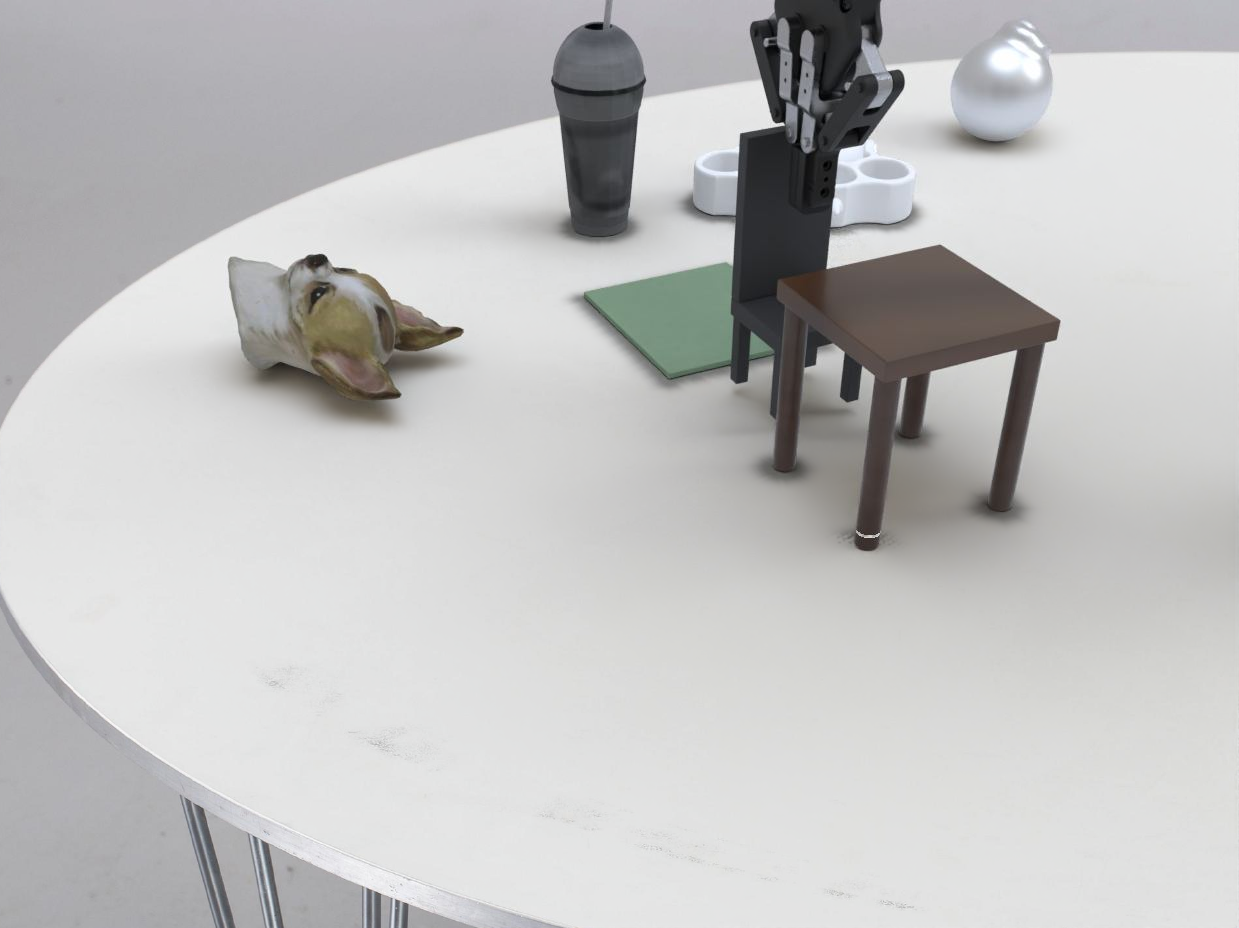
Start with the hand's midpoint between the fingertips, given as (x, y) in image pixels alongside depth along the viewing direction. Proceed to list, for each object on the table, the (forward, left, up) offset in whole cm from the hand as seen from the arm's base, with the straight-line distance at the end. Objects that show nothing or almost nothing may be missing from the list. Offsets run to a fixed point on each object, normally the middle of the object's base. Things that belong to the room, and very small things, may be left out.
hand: (809, 207), depth 86 cm
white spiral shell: (0, -54, -13) cm, 55 cm away
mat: (+10, -9, -13) cm, 19 cm away
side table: (-9, +7, -13) cm, 17 cm away
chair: (0, 0, -13) cm, 13 cm away
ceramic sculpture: (+29, +9, -13) cm, 34 cm away
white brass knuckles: (+11, -33, -13) cm, 37 cm away
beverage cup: (+24, -21, -13) cm, 35 cm away
